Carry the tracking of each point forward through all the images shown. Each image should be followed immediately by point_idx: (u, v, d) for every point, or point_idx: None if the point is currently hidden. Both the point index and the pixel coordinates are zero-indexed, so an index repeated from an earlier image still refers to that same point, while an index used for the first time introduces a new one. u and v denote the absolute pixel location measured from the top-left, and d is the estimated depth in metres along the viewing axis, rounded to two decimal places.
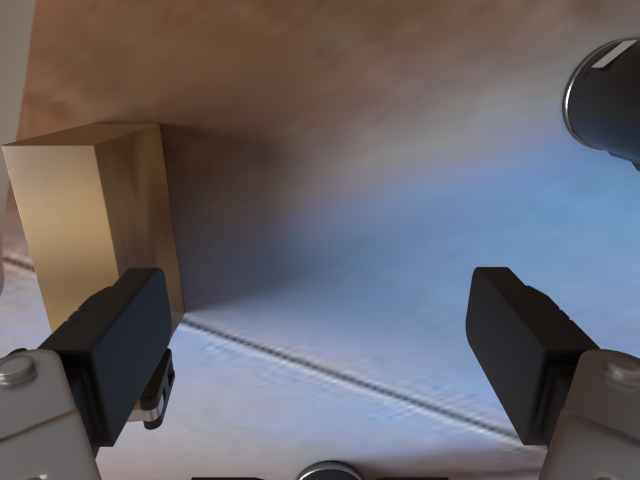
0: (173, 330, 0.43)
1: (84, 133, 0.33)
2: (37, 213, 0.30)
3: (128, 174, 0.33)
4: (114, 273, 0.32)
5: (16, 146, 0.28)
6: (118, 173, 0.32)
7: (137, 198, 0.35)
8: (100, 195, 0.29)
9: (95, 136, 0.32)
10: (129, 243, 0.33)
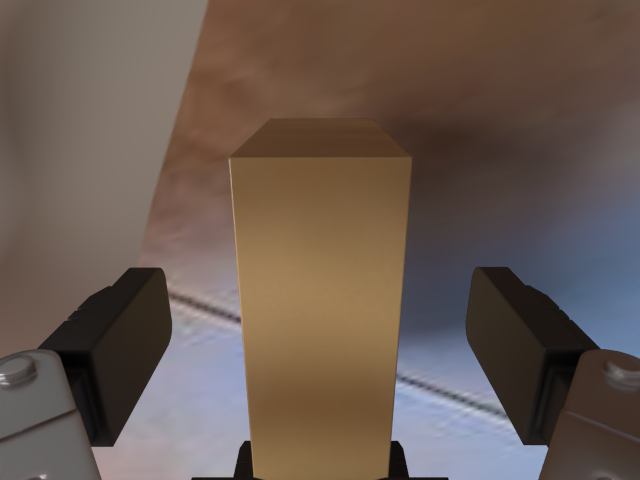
0: None
1: (314, 134, 0.19)
2: (272, 284, 0.16)
3: None
4: (388, 384, 0.18)
5: (258, 159, 0.14)
6: None
7: None
8: (400, 252, 0.15)
9: (351, 139, 0.18)
10: None
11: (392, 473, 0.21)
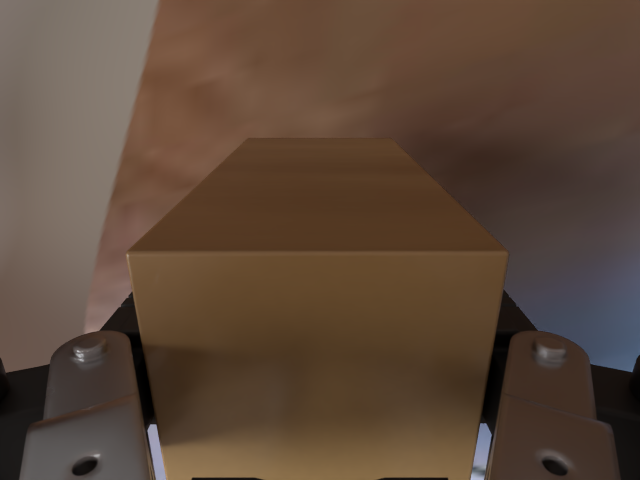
0: None
1: (307, 174, 0.12)
2: (227, 471, 0.09)
3: None
4: None
5: (187, 255, 0.07)
6: None
7: None
8: (471, 420, 0.08)
9: (371, 188, 0.10)
10: None
11: None
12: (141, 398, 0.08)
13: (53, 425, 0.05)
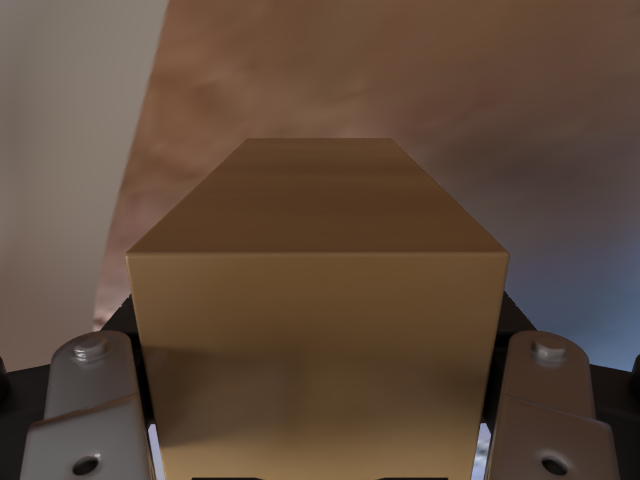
0: None
1: (306, 175, 0.12)
2: (226, 473, 0.09)
3: None
4: None
5: (186, 257, 0.07)
6: None
7: None
8: (471, 421, 0.08)
9: (370, 189, 0.10)
10: None
11: None
12: (142, 398, 0.08)
13: (54, 425, 0.05)
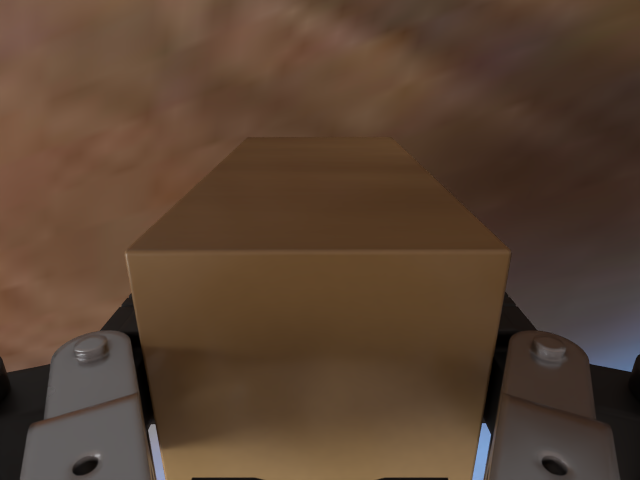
0: None
1: (307, 173, 0.12)
2: (226, 472, 0.08)
3: None
4: None
5: (186, 255, 0.07)
6: None
7: None
8: (472, 420, 0.08)
9: (371, 187, 0.10)
10: None
11: None
12: (142, 398, 0.08)
13: (54, 424, 0.05)
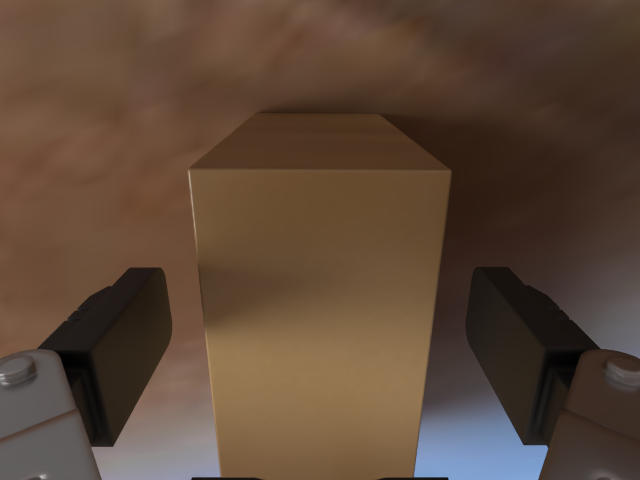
0: None
1: (309, 133, 0.15)
2: (252, 341, 0.12)
3: None
4: (406, 464, 0.13)
5: (230, 172, 0.10)
6: None
7: None
8: (429, 299, 0.11)
9: (359, 141, 0.14)
10: None
11: None
12: None
13: None
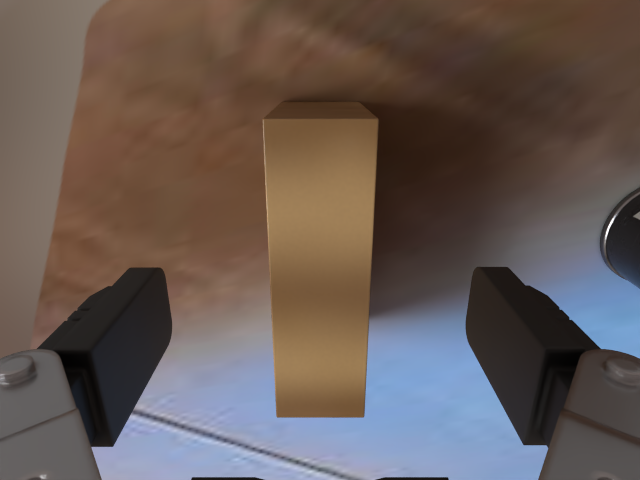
0: None
1: (315, 109, 0.28)
2: (288, 204, 0.24)
3: None
4: (366, 277, 0.26)
5: (281, 119, 0.23)
6: None
7: None
8: (372, 182, 0.24)
9: (341, 111, 0.26)
10: None
11: None
12: None
13: None
